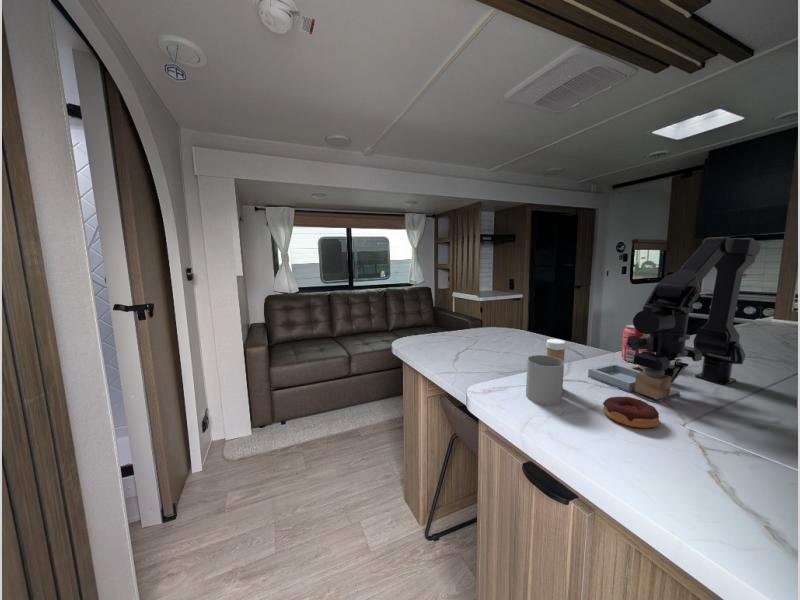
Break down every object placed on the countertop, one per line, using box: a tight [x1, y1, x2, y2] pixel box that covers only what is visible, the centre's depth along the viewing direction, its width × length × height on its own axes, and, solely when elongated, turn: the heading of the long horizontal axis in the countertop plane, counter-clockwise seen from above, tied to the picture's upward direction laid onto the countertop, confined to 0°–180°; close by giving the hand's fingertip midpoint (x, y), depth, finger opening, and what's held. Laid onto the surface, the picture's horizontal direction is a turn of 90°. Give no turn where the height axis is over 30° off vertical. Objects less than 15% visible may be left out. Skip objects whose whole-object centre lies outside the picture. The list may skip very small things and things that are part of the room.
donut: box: [602, 396, 660, 429], centre depth 66 cm, size 10×10×4 cm
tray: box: [587, 362, 640, 393], centre depth 85 cm, size 11×11×2 cm
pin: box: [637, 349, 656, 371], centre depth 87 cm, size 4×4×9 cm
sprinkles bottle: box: [546, 338, 567, 377], centre depth 81 cm, size 5×5×14 cm
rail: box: [635, 388, 681, 403], centre depth 77 cm, size 11×4×1 cm, turn 112°
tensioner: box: [634, 367, 672, 400], centre depth 75 cm, size 5×5×7 cm
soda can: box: [620, 323, 650, 363], centre depth 100 cm, size 7×7×12 cm
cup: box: [525, 354, 565, 407], centre depth 76 cm, size 8×8×10 cm
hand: (664, 388), depth 77 cm, fingers closed
